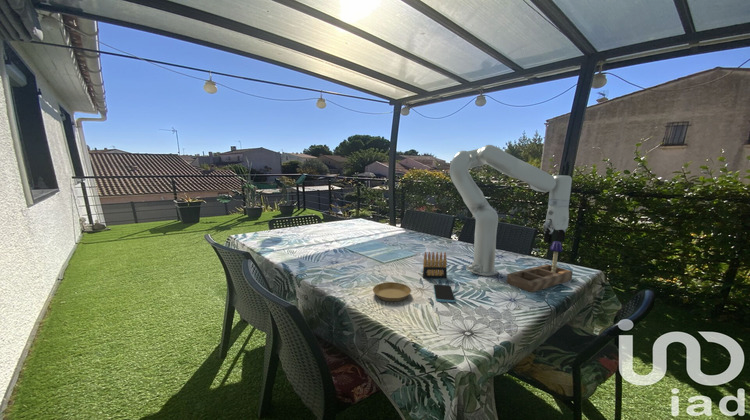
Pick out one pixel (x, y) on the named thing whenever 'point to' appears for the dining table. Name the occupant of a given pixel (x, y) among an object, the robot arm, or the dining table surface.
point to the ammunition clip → (434, 266)
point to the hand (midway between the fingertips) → (554, 241)
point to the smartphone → (443, 293)
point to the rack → (538, 278)
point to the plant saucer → (392, 291)
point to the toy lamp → (555, 253)
